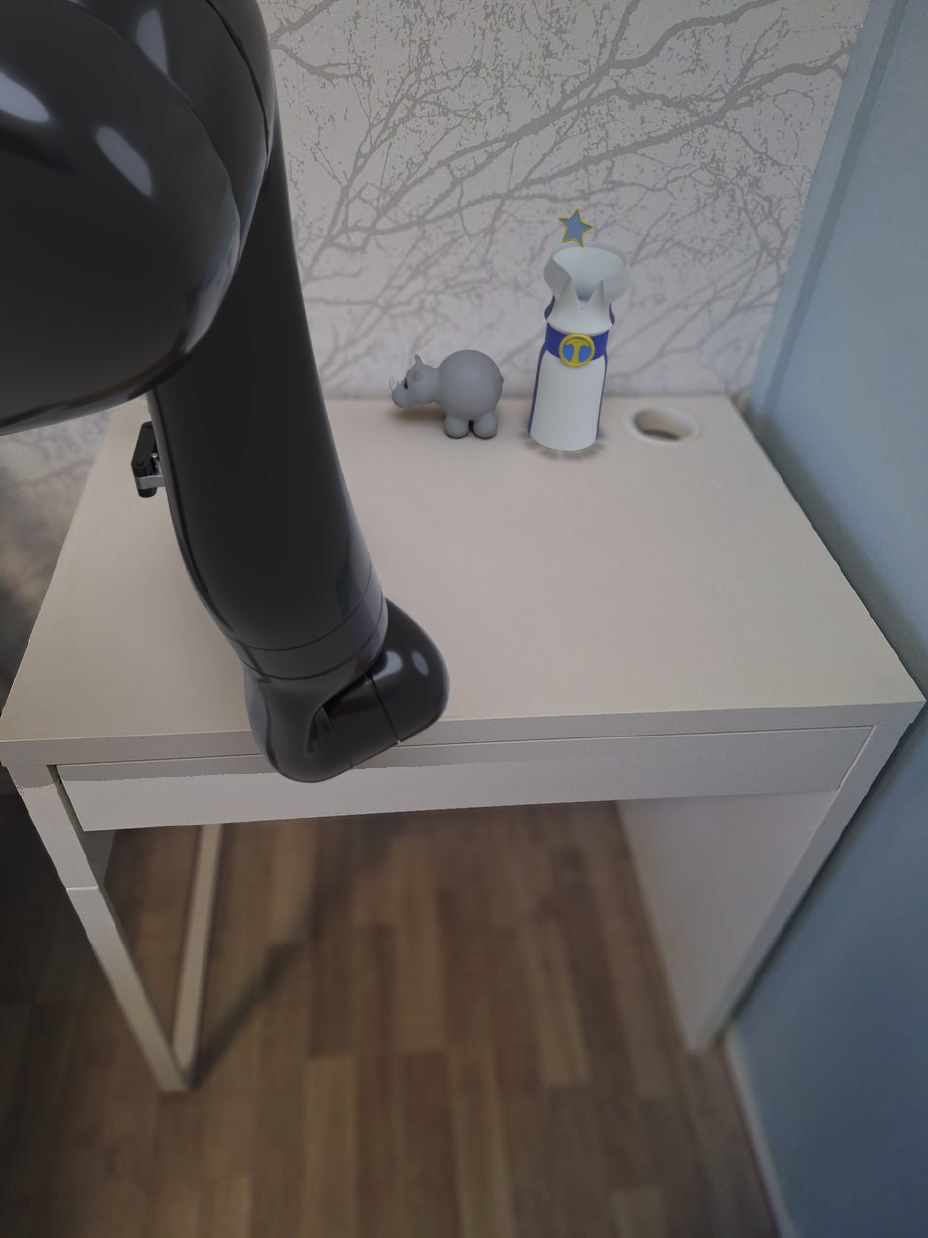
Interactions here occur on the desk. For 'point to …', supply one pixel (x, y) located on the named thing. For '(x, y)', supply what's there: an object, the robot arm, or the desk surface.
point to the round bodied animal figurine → (455, 391)
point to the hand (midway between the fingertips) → (201, 395)
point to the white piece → (576, 338)
